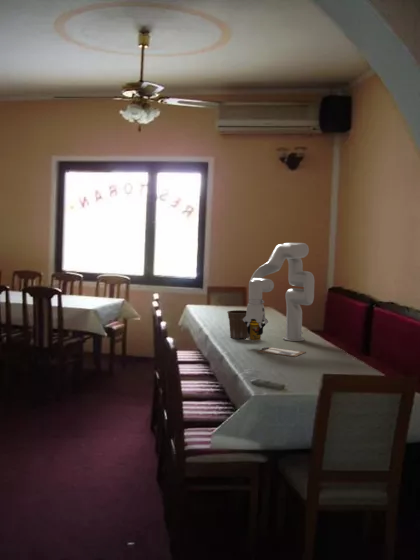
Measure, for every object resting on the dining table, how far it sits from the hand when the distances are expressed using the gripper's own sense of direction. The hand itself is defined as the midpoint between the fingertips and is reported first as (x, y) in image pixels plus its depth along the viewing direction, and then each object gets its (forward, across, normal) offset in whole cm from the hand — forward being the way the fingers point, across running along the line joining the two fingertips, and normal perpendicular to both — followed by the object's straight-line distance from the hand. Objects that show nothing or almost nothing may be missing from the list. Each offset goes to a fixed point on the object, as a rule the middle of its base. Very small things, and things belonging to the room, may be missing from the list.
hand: (255, 333), depth 318 cm
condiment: (+3, +1, 0) cm, 4 cm away
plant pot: (+10, +24, -27) cm, 37 cm away
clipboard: (+9, -16, -1) cm, 18 cm away
